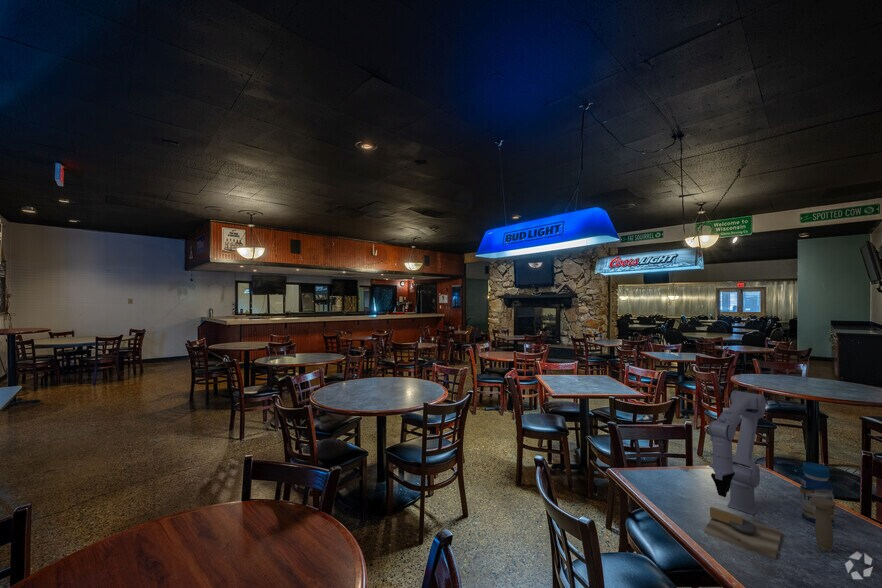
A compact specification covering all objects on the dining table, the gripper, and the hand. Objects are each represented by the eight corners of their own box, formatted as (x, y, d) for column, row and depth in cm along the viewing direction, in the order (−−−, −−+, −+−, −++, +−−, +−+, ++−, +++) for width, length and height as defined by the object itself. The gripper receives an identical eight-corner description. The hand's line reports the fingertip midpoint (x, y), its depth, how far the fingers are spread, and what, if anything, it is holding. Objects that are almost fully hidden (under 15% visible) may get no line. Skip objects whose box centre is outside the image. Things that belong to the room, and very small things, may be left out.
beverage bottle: (833, 522, 131) (831, 465, 131) (836, 532, 125) (833, 473, 125) (800, 513, 136) (798, 458, 137) (801, 523, 130) (799, 466, 131)
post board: (716, 512, 137) (716, 507, 137) (781, 534, 124) (781, 528, 124) (704, 533, 125) (704, 527, 125) (775, 559, 111) (775, 552, 111)
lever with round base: (757, 527, 124) (757, 518, 124) (754, 536, 119) (754, 526, 119) (712, 512, 133) (712, 503, 133) (708, 519, 128) (708, 511, 128)
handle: (841, 552, 115) (839, 503, 115) (827, 555, 113) (825, 506, 114) (822, 542, 119) (820, 496, 120) (808, 546, 118) (806, 498, 118)
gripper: (713, 447, 141) (714, 483, 140) (704, 457, 131) (705, 496, 131) (736, 452, 136) (738, 489, 135) (728, 463, 126) (730, 504, 125)
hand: (723, 493), depth 133 cm, fingers open, 4 cm apart
